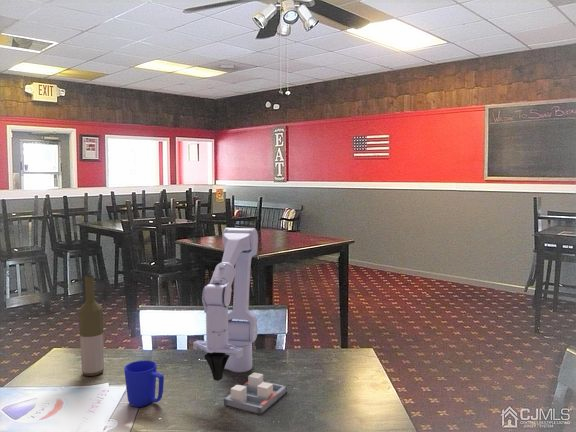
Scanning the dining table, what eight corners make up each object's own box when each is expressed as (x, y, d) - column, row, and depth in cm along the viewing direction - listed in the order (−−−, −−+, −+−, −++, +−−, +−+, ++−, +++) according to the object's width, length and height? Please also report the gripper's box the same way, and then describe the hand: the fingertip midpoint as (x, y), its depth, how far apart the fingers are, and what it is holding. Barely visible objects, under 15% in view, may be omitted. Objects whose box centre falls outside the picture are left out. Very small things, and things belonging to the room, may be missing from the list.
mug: (150, 416, 124) (149, 378, 123) (118, 404, 131) (117, 368, 130) (174, 403, 131) (173, 367, 130) (142, 393, 138) (141, 358, 137)
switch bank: (224, 408, 129) (224, 398, 128) (252, 387, 141) (252, 378, 141) (260, 417, 124) (260, 407, 123) (286, 395, 136) (286, 385, 136)
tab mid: (257, 401, 130) (257, 386, 130) (263, 396, 133) (263, 382, 133) (267, 403, 129) (267, 388, 129) (272, 398, 132) (272, 384, 131)
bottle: (84, 369, 154) (80, 274, 152) (107, 368, 155) (104, 273, 153) (77, 378, 147) (73, 279, 145) (102, 377, 148) (98, 278, 146)
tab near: (230, 403, 129) (230, 388, 129) (237, 398, 132) (236, 384, 131) (240, 406, 128) (240, 391, 127) (246, 401, 130) (246, 386, 130)
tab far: (248, 390, 137) (248, 376, 136) (254, 386, 140) (254, 372, 139) (257, 392, 135) (257, 378, 135) (263, 388, 138) (263, 374, 138)
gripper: (185, 329, 131) (186, 379, 132) (231, 337, 124) (232, 390, 125) (202, 322, 137) (202, 370, 138) (246, 329, 130) (247, 379, 131)
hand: (217, 379), depth 132 cm, fingers closed
